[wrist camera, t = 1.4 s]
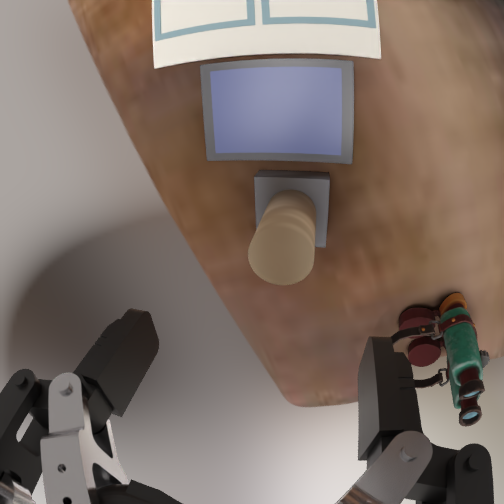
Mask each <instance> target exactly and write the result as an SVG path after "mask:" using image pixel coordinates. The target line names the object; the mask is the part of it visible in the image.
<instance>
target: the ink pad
mask: <svg viewBox="0 0 504 504" xmlns="http://www.w3.org/2000/svg"><path fill="white" fill-rule="evenodd" d="M200 73H201V89H202V104H203V118H204V131H205V143H206V155H207V161H221V160H277V161H308V162H327V163H342V164H352V158H353V132H354V67H353V61H346V60H331V59H258V60H243V61H231V62H221V63H213V64H205V65H200Z"/></svg>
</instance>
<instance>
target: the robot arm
mask: <svg viewBox="0 0 504 504" xmlns="http://www.w3.org/2000/svg"><path fill="white" fill-rule="evenodd" d="M158 349H159V339H158V336H157V333H156V330H155V327H154V324H153V321H152V318H151V315H150V313H149V312H147V311H142V310H137V309H129V310H128V311H127V312H126V313H125V314H124V316H123V317H122V318H121V319H117V320H116V321H115V322H113V323H112V324H110V325H109V326H108V327H107V328H106V329H105V330H104V332H103V333H102V334H101V337H100V338H98V340H97V341H96V342H95V345H93V346H92V348H91V349H90V350H89V352H88V353H87V354H86V356H85V357H84V358H83V360H82V361H81V363H80V364H79V365H78V367H77V368H76V370H75V371H74V372H73V373H63V374H60V375H59V376H57V377H56V378H54V380H42V379H38V378H37V377H36V376H35V374H34V373H33V372H32V371H31V370H29V369H22V370H19V371H17V372H16V373H15V374H14V375H13V376H12V377H11V379H10V380H9V382H8V383H7V384H6V386H5V387H4V389H3V390H2V392H1V393H0V504H36V503H35V501H34V500H32V497H31V495H32V493H33V491H34V489H35V486H36V484H37V482H38V480H39V478H40V475H41V473H42V472H43V481H44V488H45V495H46V502H47V504H182V503H180V502H179V501H177V500H175V499H173V498H172V497H170V496H168V495H167V494H165V493H164V492H162V491H160V490H158V489H155V488H152V487H149V486H147V485H144V484H142V483H138V482H136V481H134V480H131V482H130V483H129V481H128V478H127V476H126V474H125V472H124V470H123V468H122V467H121V465H120V463H119V460H118V456H117V452H116V448H115V443H114V438H113V434H112V429H111V424H110V420H109V417H110V415H111V413H112V414H115V415H117V416H120V417H122V416H123V414H124V412H125V410H126V408H127V406H128V405H129V403H130V401H131V399H132V397H133V396H134V394H135V392H136V390H137V388H138V386H139V385H140V383H141V381H142V379H143V378H144V376H145V374H146V372H147V370H148V369H149V367H150V365H151V363H152V361H153V360H154V358H155V356H156V354H157V352H158ZM358 403H359V441H358V442H359V443H358V460H367V470H366V471H365V473H364V474H363V475H362V476H361V477H360V478H359V479H358V480H357V482H356V483H355V484H354V485H353V486H352V487H351V488H350V489H349V490H348V491H347V492H346V493H345V494H344V495H343V496H342V497H341V498H340V499H339V500H338V501H337V502H336V503H335V504H400V503H401V502H402V501H403V499H404V498H406V499H411V500H416V504H494V495H493V494H494V493H493V476H492V464H491V457H490V454H489V452H488V451H487V449H486V448H485V447H483V446H482V445H479V444H469V445H466V446H465V447H463V448H462V449H461V450H454V449H449V448H444V447H440V446H436V445H434V444H433V443H431V442H430V440H429V439H428V438H427V437H426V436H425V435H424V434H423V431H422V427H421V420H420V414H419V406H418V400H417V394H416V390H415V382H414V379H413V372H412V367H411V363H410V362H409V360H408V359H407V357H406V356H405V354H404V353H403V352H394V349H393V344H392V339H391V338H390V337H369V338H368V341H367V344H366V347H365V350H364V354H363V357H362V360H361V363H360V366H359V372H358ZM28 413H29V414H30V415H31V416H33V420H32V422H31V423H30V425H29V427H28V429H27V430H26V432H25V434H24V436H23V438H22V439H21V441H20V442H18V441H17V439H16V434H17V431H18V429H19V428H20V426H21V424H22V423H23V421H24V419H25V417H26V416H27V414H28Z"/></svg>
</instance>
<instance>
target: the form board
mask: <svg viewBox="0 0 504 504" xmlns="http://www.w3.org/2000/svg"><path fill="white" fill-rule="evenodd" d="M152 30H153V55H154V68H155V69H157V68H162V67H167V66H172V65H178V64H183V63H189V62H196V61H203V60H210V59H218V58H227V57H238V56H250V55H269V54H323V55H341V56H353V57H363V58H372V59H381V45H380V29H379V17H378V7H377V0H152Z"/></svg>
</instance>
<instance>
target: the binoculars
mask: <svg viewBox="0 0 504 504" xmlns="http://www.w3.org/2000/svg"><path fill="white" fill-rule="evenodd" d="M466 309H467V304H466V302H465V299H464V297H463V295H462V294H460V293H454V294H451V295H450V296H448V297H447V298H446V299H445V300H444V301H443V303H442V304H441V306H440V308H439V310H435V311H431V310H429V309H426V308H412V309H408V310H406V311H405V312H403V313H402V314H401V316H400V317H399V331H398V332H397V333H395V334H394V335H393V336H391V337H390V338H391V339H392V344H393V345H394V344H395V343H397V342H398V341H399V340H401V339H405V338H417V339H415V340H414V341H413V342H412V343H411V344H410V346H409V349H408V359H409V362H410V363H411V364H413V365H415V366H419V367H424V366H428V365H430V364H432V363H434V362H435V361H436V360H437V359H438V358H439V357H440V355H441V347H442V346H444V347H445V349H446V351H447V369H446V368H444V369H439V371H438V374H436V375H435V376H433V377H431V378H428V379H425V380H414V382H415V388H426V387H429V386H431V387H432V386H434V385H435V384H438V383H439V385H440V386H444V385H445V384H447V383H448V381H449V379H450V385H451V391H452V396H453V403H454V407H455V408H457V409H460V408H461V412H460V413H459V423H460V425H462V426H471V425H473V424H475V423H476V422H478V421H479V420H480V418H481V416H482V413H481V408H480V406H478V404H477V400H478V399H479V397H480V394H481V393H483V392H484V391H485V389H484V385H483V382H482V380H483V368H484V367H485V366H486V365H487V364H488V362H489V360H490V359H489V355H488V352H486V351H485V350H484V351H482V350H480V351H479V348H478V343H477V332H476V329H475V324H474V323H473V322H472V320H471V318H470V315H469V313H468V312H467V310H466ZM435 316H439V318H440V321H435ZM435 323H438V324H439V325H438V328H439V333H440V335H438V336H436V337H434V335H435V330H434V328H435ZM423 336H431V337H423ZM441 336H442V337H443V339H444V341H438V340H436V339H437V338H440V337H441ZM440 371H446V378H447V381H446V382H445V383H443V384H441V383H442V382H443V377H442V373H440Z"/></svg>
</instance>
